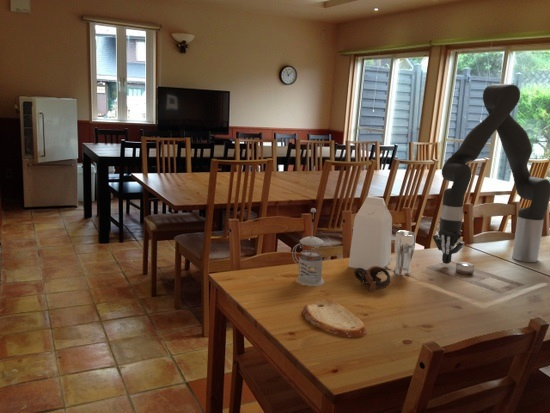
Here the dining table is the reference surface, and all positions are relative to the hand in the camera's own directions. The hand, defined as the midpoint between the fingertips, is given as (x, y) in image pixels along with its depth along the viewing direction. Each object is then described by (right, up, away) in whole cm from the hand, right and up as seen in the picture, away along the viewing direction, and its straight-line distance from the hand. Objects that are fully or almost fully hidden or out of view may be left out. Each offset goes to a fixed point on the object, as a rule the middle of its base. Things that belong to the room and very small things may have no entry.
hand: (446, 263), depth 181 cm
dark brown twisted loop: (-32, -6, -20) cm, 38 cm away
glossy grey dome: (+5, -3, -6) cm, 8 cm away
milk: (-28, -1, +1) cm, 28 cm away
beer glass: (-18, -3, -6) cm, 19 cm away
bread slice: (-47, -11, -46) cm, 67 cm away
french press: (-52, -4, -16) cm, 55 cm away
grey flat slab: (+7, -5, -8) cm, 12 cm away
